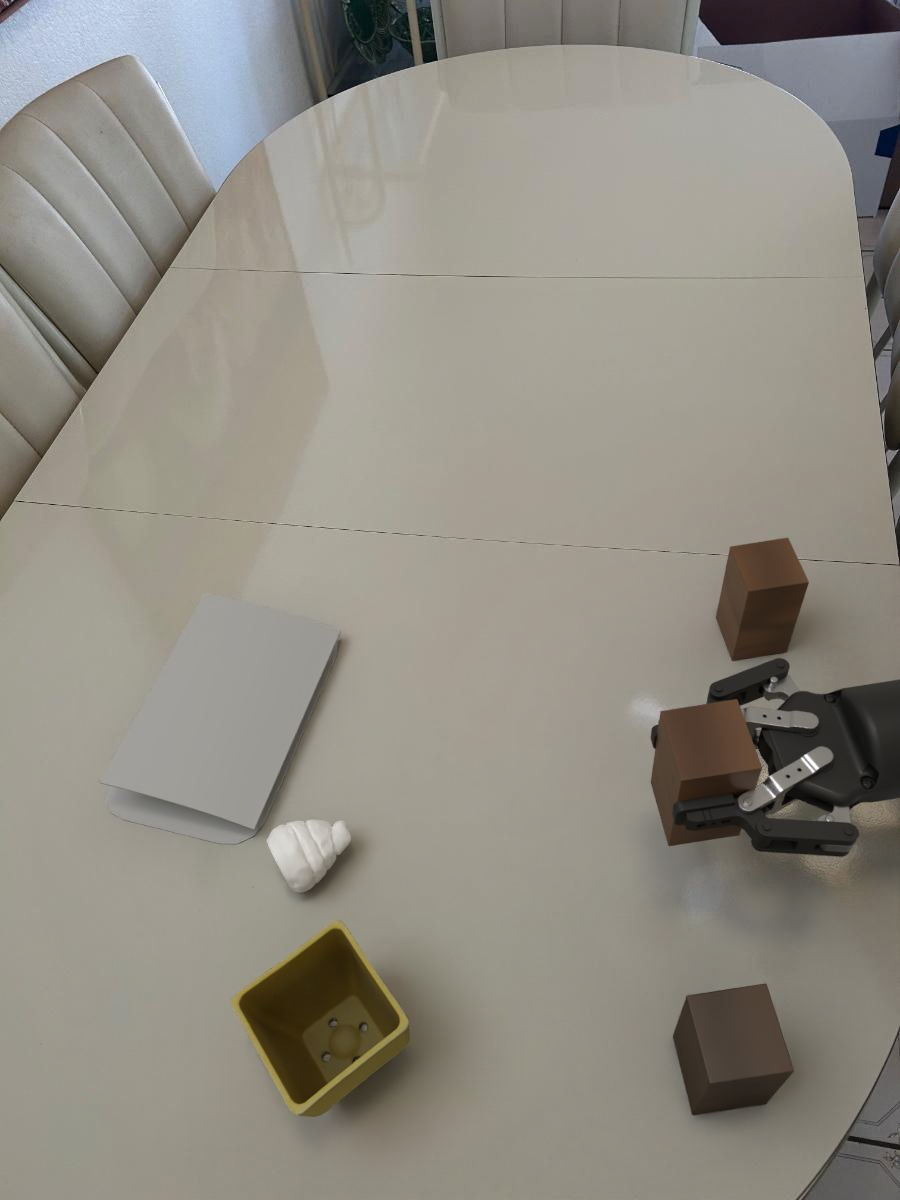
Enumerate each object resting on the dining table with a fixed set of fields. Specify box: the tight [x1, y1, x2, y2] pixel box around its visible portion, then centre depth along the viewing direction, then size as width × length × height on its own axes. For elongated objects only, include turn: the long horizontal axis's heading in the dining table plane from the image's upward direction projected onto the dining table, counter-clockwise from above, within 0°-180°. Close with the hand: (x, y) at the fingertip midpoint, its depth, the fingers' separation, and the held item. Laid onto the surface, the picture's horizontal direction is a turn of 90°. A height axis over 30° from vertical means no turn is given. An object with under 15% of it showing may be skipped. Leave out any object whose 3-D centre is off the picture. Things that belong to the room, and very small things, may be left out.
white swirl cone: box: [265, 818, 352, 894], centre depth 74 cm, size 6×6×5 cm
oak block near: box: [672, 983, 795, 1116], centre depth 60 cm, size 5×5×10 cm
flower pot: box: [230, 919, 411, 1118], centre depth 63 cm, size 9×9×9 cm
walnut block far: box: [715, 537, 810, 661], centre depth 81 cm, size 5×5×10 cm
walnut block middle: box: [650, 699, 763, 847], centre depth 62 cm, size 5×5×10 cm
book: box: [99, 592, 342, 845], centre depth 84 cm, size 15×23×4 cm, turn 164°
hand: (664, 775), depth 61 cm, fingers closed on walnut block middle, 5 cm apart
